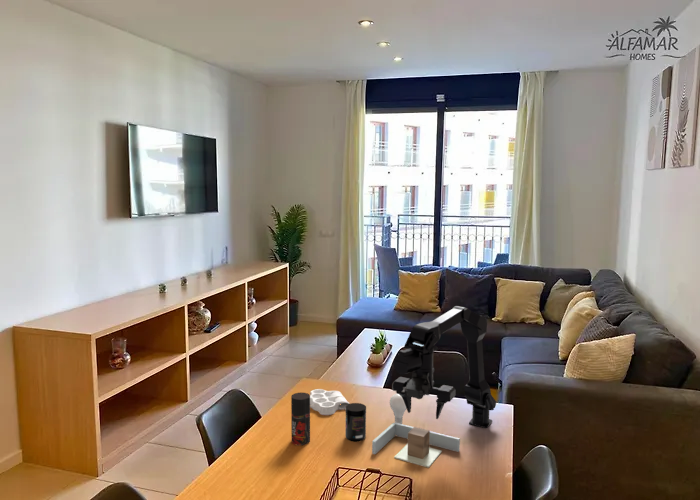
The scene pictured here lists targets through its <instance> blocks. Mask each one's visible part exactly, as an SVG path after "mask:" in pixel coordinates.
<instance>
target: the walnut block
mask: <svg viewBox="0 0 700 500" xmlns="http://www.w3.org/2000/svg"><path fill="white" fill-rule="evenodd" d="M413 427H414V428H412V429H411V430H410V431H409V432H408V439H407V443H408V455H409V456H413V457H417V458H420V459H424V457H425V456H426V455H427V454H428V453H429V447H430V444H429V436H430V431H431V430H430V429H427V428H426V429H425V428H422V427H417V426H413Z"/></svg>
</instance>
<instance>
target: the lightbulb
mask: <svg viewBox="0 0 700 500" xmlns="http://www.w3.org/2000/svg"><path fill="white" fill-rule="evenodd" d="M389 406H390V408H391V411H392V412H393V415H394V423H400V424H403V417H404V414H405V412H406V411H407V408H406V405H405V403H404V400H403V398H402V396H400V395H399V394H397V393H394V394H393V395H392V396H391V397H390V399H389Z"/></svg>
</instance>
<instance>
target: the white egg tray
mask: <svg viewBox="0 0 700 500" xmlns="http://www.w3.org/2000/svg"><path fill="white" fill-rule="evenodd" d="M309 395H310V409H312V410H313V411H316V412H318V414H320V415H322V416H331V415H334V414H335V413H336V411H338V410H346V405H348V404H350V402H349V401H348V400H347V399H346V397H345V396H344V395H343V393H342V392H341V391H339V390H325V389H323V388H317V389H313V390H310V392H309ZM340 404H341V405H340Z"/></svg>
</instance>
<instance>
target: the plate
mask: <svg viewBox="0 0 700 500" xmlns="http://www.w3.org/2000/svg"><path fill="white" fill-rule="evenodd" d="M442 452H443V450H441V449H437V448H434V447H431V446H429V453H428V454H427V455H426V456H425V457H424V459H420V458H417V457H413V456H409V455H408V442H406V444H405V446H404V447H402V449H400V451H399V452H398V453H397V454H395V455H394V459H396V460H400V461H403V462H408V463H411V464H413V465H416V466H417V465H418V466H422V467H424V468H429V469H430V467H431V466H432V465H433V463H434V462H435V461H436V459H438V458H439V456H440V455H441V453H442Z"/></svg>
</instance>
